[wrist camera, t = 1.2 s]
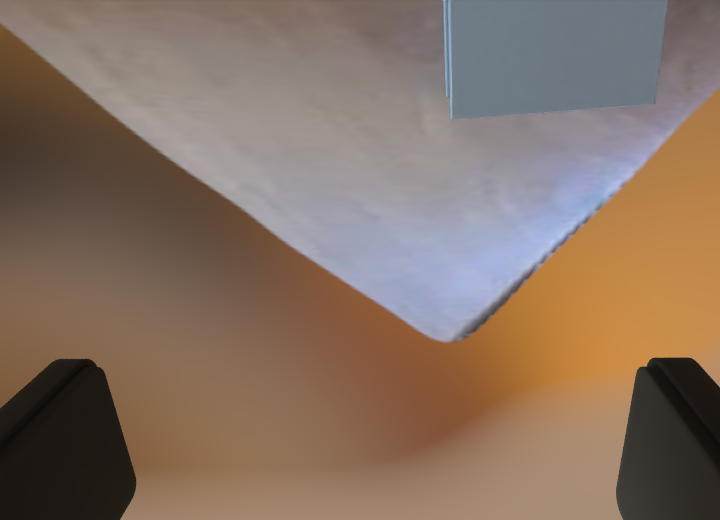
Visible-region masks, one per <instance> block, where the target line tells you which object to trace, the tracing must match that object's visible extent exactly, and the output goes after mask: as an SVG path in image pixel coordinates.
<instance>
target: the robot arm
mask: <svg viewBox="0 0 720 520" xmlns="http://www.w3.org/2000/svg"><path fill="white" fill-rule="evenodd" d="M135 489H136V477H135V473H134V470H133V466H132V463H131V460H130V456H129V453H128V450H127V446H126V443H125V440H124V436H123V433H122V429H121V426H120V423H119V419H118V416H117V413H116V409H115V406H114V403H113V399H112V396H111V393H110V389H109V386H108V382H107V379H106V376H105V373H104V371H103V370H102V369H101V368H99V367H97V366H96V364H95V363H94V362H93V361H92V360H89V359H58V360H55V361H54V362H52V363H51V364H50V365H48V366H47V367H46V368H45V369H44V370H43V371H42V372H41V373H39V374H38V375H37V376H36V377H35V378H34V379H33V380H32V381H31V382H29V383H28V384H27V385H26V386H25V387H24V388H23V389H22V390H21V391H19V392H18V393H17V394H16V395H15V396H14V397H13V398H12V399H10V400H9V401H8V402H7V403H6V404H5V405H4V406H3V407H2V408H0V520H120V518H121V517H122V515H123V513H124V512H125V510H126V508H127V507H128V505H129V504H130V502H131V500H132V498H133V496H134V493H135ZM616 497H617V503H618V507H619V511H620V513H621V515H622V518H623V520H720V387H719V386H718V385H717V384H716V383H715V382H714V381H713V380H712V378H711V377H710V376H709V375H708V374H707V373H706V372H705V371H704V369H703V368H702V367H701V366H700V365H699V364H698V363H697V362H696V361H695V360H693V359H692V358H652V359H651V360H650V361H649V362H648V364H647V367H640V368H639V369H638V370H637V373H636V377H635V383H634V389H633V395H632V401H631V406H630V413H629V418H628V424H627V430H626V435H625V441H624V447H623V453H622V458H621V465H620V470H619V476H618V482H617V488H616Z"/></svg>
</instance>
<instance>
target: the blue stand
mask: <svg viewBox="0 0 720 520" xmlns="http://www.w3.org/2000/svg"><path fill="white" fill-rule="evenodd" d="M667 5H668V0H443V14H444V56H445V95H446V96H447V97H450V117H451V119H452V120H460V119H472V118H485V117H498V116H511V115H524V114H537V113H550V112H563V111H575V110H588V109H601V108H614V107H627V106H640V105H653V104H655V99H656V92H657V84H658V76H659V68H660V60H661V52H662V44H663V36H664V28H665V20H666V12H667Z"/></svg>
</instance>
